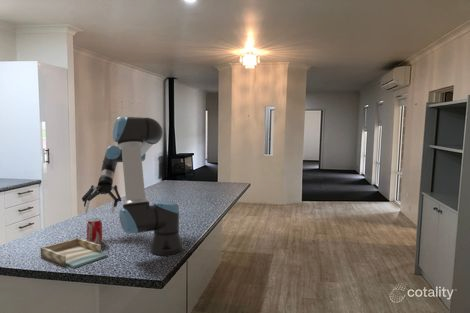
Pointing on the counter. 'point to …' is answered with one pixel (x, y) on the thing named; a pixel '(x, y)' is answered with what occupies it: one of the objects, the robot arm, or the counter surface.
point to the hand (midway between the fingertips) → (99, 212)
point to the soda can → (94, 230)
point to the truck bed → (73, 252)
